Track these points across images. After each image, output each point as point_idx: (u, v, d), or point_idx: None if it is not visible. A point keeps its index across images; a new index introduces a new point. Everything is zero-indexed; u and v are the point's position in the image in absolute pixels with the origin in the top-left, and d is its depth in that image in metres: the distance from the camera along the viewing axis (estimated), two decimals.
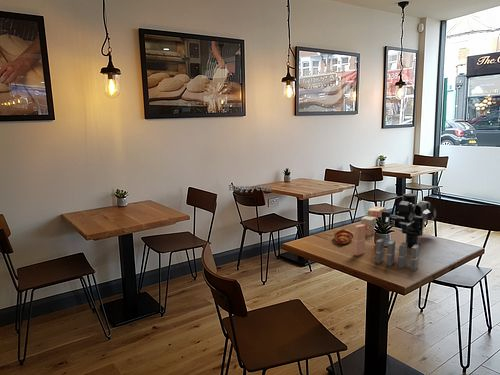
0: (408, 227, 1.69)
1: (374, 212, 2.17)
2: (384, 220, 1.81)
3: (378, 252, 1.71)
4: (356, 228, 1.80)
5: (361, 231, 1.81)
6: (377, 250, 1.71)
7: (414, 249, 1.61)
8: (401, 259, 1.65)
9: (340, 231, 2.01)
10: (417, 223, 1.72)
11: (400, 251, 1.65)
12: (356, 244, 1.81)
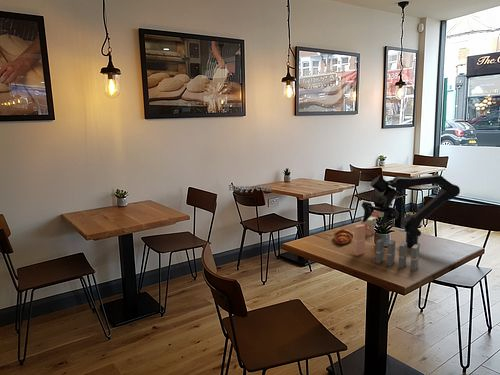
0: (381, 224, 1.81)
1: (374, 212, 2.16)
2: None
3: (378, 252, 1.71)
4: (356, 228, 1.80)
5: (361, 231, 1.81)
6: (377, 250, 1.71)
7: (414, 249, 1.61)
8: (401, 259, 1.65)
9: (340, 231, 2.01)
10: (390, 215, 1.80)
11: (400, 251, 1.65)
12: (356, 244, 1.81)
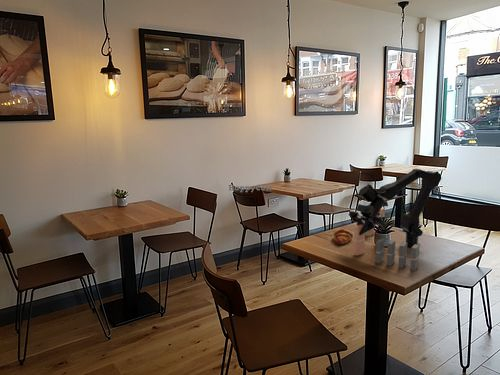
0: (361, 233, 1.80)
1: None
2: None
3: (378, 252, 1.71)
4: (356, 228, 1.80)
5: None
6: (377, 250, 1.71)
7: (414, 249, 1.61)
8: (401, 259, 1.65)
9: (339, 231, 2.02)
10: (370, 224, 1.79)
11: (400, 251, 1.65)
12: (356, 244, 1.81)
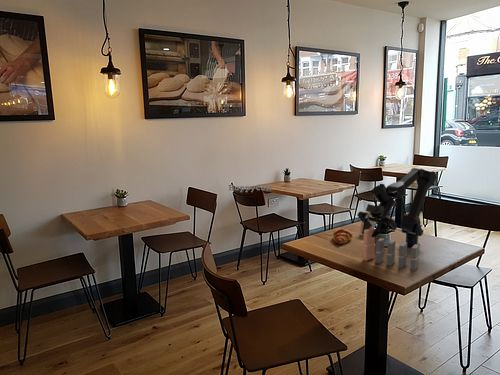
0: (374, 235, 1.72)
1: None
2: None
3: (378, 252, 1.71)
4: (365, 232, 1.73)
5: (371, 235, 1.74)
6: (377, 250, 1.71)
7: (414, 249, 1.61)
8: (401, 259, 1.65)
9: (339, 231, 2.02)
10: (383, 226, 1.71)
11: (400, 251, 1.65)
12: (365, 249, 1.74)
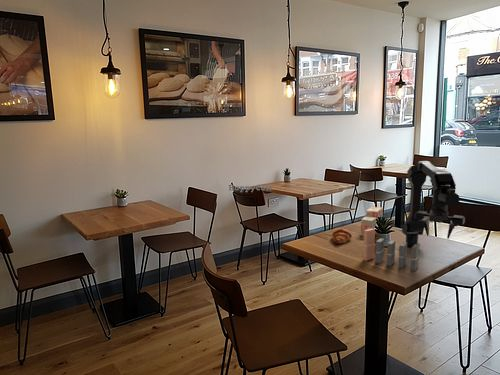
0: (449, 236, 1.62)
1: (373, 213, 2.15)
2: None
3: (378, 252, 1.71)
4: (365, 232, 1.73)
5: (371, 235, 1.74)
6: (377, 250, 1.71)
7: (414, 249, 1.61)
8: (401, 259, 1.65)
9: (338, 231, 2.02)
10: None
11: (400, 251, 1.65)
12: (365, 249, 1.74)
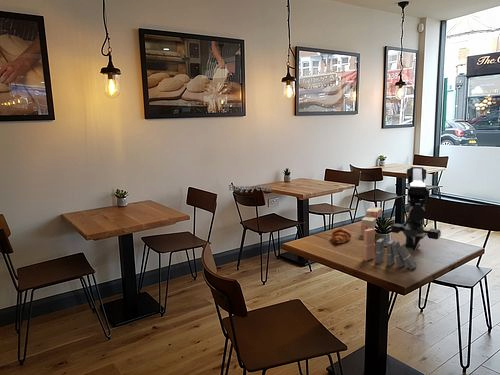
0: None
1: (373, 213, 2.15)
2: None
3: (378, 252, 1.71)
4: (365, 232, 1.73)
5: (371, 235, 1.74)
6: (377, 250, 1.71)
7: (399, 249, 1.65)
8: (398, 258, 1.66)
9: (337, 230, 2.02)
10: None
11: (394, 250, 1.66)
12: (365, 249, 1.74)
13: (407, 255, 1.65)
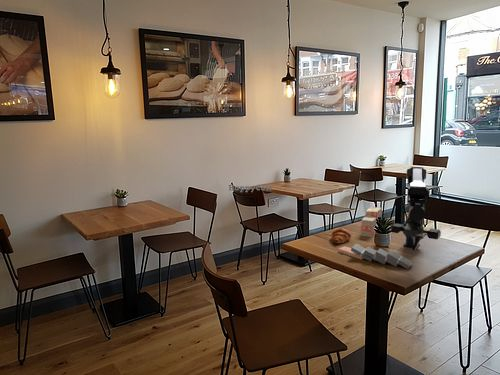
0: None
1: (373, 213, 2.15)
2: None
3: (361, 254, 1.75)
4: (339, 250, 1.86)
5: (345, 248, 1.87)
6: (359, 253, 1.76)
7: (388, 255, 1.68)
8: (388, 259, 1.68)
9: (337, 230, 2.03)
10: None
11: (380, 256, 1.70)
12: (352, 254, 1.80)
13: (398, 257, 1.67)
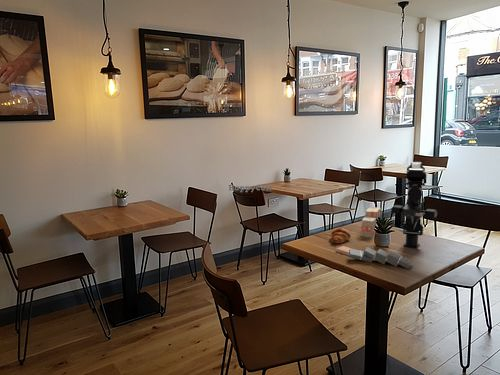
0: (414, 227, 1.76)
1: (372, 213, 2.14)
2: None
3: (360, 257, 1.73)
4: (337, 250, 1.87)
5: (344, 248, 1.87)
6: (358, 257, 1.73)
7: (388, 256, 1.68)
8: (388, 260, 1.68)
9: (336, 230, 2.03)
10: None
11: (380, 257, 1.70)
12: None
13: (398, 258, 1.67)
